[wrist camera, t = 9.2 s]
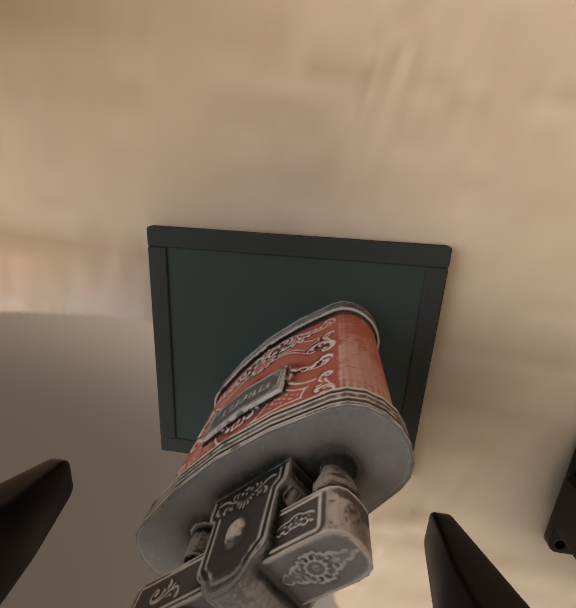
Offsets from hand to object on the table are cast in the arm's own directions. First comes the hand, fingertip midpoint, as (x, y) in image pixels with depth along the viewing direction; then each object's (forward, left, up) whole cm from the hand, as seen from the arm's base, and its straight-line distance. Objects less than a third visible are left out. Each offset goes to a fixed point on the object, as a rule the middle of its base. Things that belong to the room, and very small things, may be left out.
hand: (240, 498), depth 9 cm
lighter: (-1, 0, -8) cm, 8 cm away
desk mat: (0, 0, -8) cm, 8 cm away
